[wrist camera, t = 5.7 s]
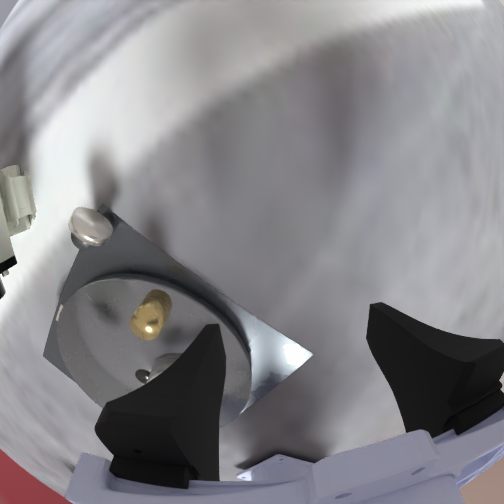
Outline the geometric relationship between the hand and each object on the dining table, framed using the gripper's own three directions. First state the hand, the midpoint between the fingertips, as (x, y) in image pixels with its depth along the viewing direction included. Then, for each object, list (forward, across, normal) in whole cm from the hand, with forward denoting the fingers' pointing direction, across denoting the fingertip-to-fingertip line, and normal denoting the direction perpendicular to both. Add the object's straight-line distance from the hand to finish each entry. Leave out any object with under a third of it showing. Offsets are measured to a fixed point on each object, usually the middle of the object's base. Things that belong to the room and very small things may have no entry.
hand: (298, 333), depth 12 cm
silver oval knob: (+7, +11, -5) cm, 14 cm away
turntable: (+7, +11, +7) cm, 15 cm away
